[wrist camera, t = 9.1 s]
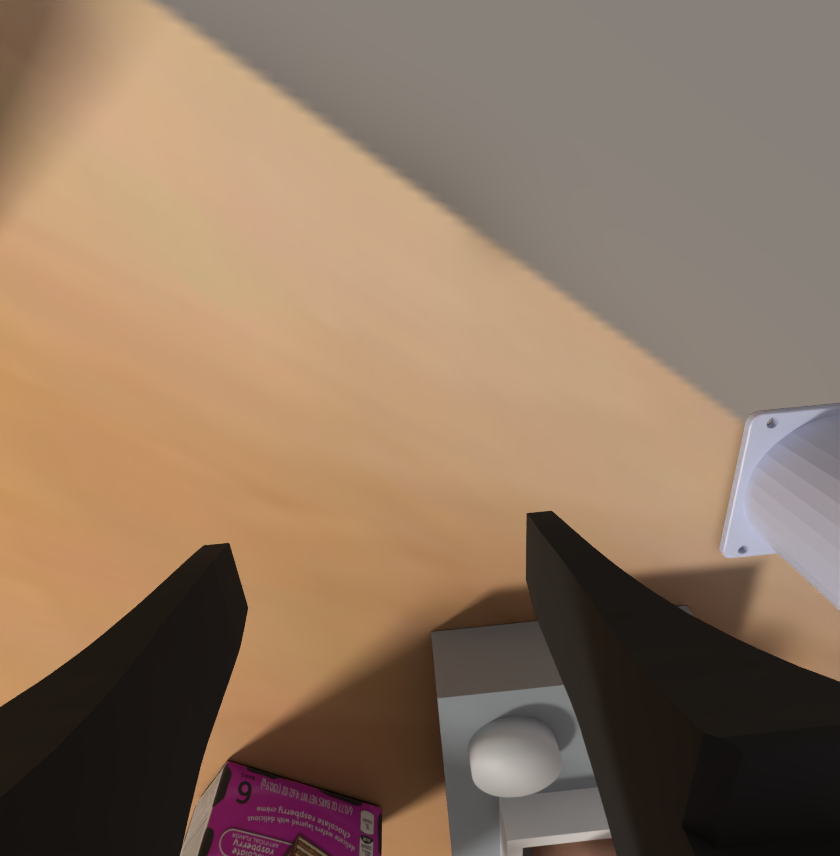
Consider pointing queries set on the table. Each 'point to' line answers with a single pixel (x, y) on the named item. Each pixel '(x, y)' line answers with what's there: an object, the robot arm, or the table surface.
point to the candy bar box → (278, 819)
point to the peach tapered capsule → (577, 848)
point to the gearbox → (511, 744)
